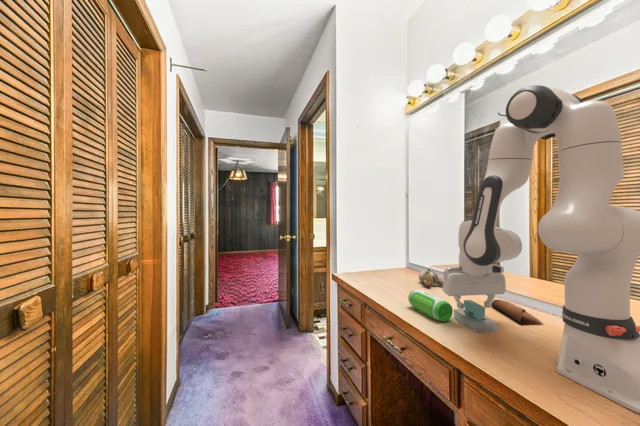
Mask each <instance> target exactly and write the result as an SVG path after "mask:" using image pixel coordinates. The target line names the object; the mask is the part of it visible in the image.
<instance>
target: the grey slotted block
mask: <svg viewBox="0 0 640 426" xmlns="http://www.w3.org/2000/svg"><path fill="white" fill-rule="evenodd" d="M453 318H454V319H455V320H457V321H458V322H460V323H461V324H462V325H464V326H465V327H467V328H468V329H470V330H471V331H473V332H474V333H475V334H477V333H478V334H480V333H498V322H497V321H495V320H493V319H492V318H490V317H488V316H487V315H486V314H485V315H484V320H478V321H477V320H476V319H474V314H466V313H465V308H464V309H459V308H454V309H453Z"/></svg>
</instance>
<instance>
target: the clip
mask: <svg viewBox="0 0 640 426" xmlns="http://www.w3.org/2000/svg"><path fill="white" fill-rule="evenodd" d="M463 304H464V309H465V313H466V314H474V319H476V320H477V321H478V320H484V315H485V316H486V307H484V305H481V304H479V303H477V302H475V301H474V300H472V299H463Z"/></svg>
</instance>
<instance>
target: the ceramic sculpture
mask: <svg viewBox="0 0 640 426" xmlns="http://www.w3.org/2000/svg"><path fill="white" fill-rule="evenodd" d="M418 280H419V282H420V283H422V284H424V286H425V287H428V288H429V287H435V286H440V287H441V286H442V287H443V281H444V279H441V278H439V276H438V274H437V273H436V272H434V271H433V270H432V269H430V268H429V269H424V268H422V269H421V271H420V273H419V274H418Z"/></svg>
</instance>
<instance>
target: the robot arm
mask: <svg viewBox="0 0 640 426" xmlns="http://www.w3.org/2000/svg"><path fill="white" fill-rule="evenodd" d="M505 116H506V119H507V121H508V122H505V123H504V124H501V125H499V126H498V127H497V128H496V130H495V131H494V133H493V137H492V140H491V144H490V149H489V152H488V160H487V161H488V162H487V166H486V168H487V169H486V171H485V176H484V177H483V180H482V182H481V184H480V186H479V189H478V193H477V196H476V202H475V205H474V211H473V214H472V218H470V219H465V220H463V221H461V222H460V224H459V228H458V240H457V241H458V247H459V254H458V266H457V267H447V268H446V269H444V271H443V273H442V276H443V286H442V292H443V293H444V294H445V295H447V296H448V297H453V299H454V301H455V302H456V307H457V308H456V309H465V307H464V302H462V301H461V299H462V297H463V296H467V297H468V296H487V297H486V300H484V301H483V307H485V309H487V308H489V309H490V308H492V306H491V304H492V302H493V301H494V300H495V296H496V295H504V294H505V293H506V290H507V289H506V288H507V283H506V277H505V274H503V273H504V271H505V268H504V267H503V266H501V265H498V264H496V263H500V262H504V261H510V260H512V259H515V258H517V257H518V256H519V255H520V254H521V252H522V250H523V244H522V241H521V240H522V239H521V238H520V237H519V235H518V234H517V233H515V232H514V231H512V230H508V229H504V228H501V227H498V226H497V224H498V220H499V219H498V218H499V214H500V209H501V205H502V204H503V201H504V200H505V198H507V197H508V196H509V195H510V194H511V193H513V192H515V191H517V190H518V189H520V188H522V187H523V186H524V185H525V184H526V183H527V182H528V180H529V177H530V176H531V175H530V174H531V172H532V165H533V158H534V150H535V145H536V143H537V142H538V140H540V139H542V140H545V141H546V140H548V139H551V138H555V137H556V141H557V155H558V171H559V172H558V173H559V174H558V175H559V178H558V180H559V182H558V189H557V192H556V196H555V198H554V202H553V204H552V206H551V208H550V209H549V210H548V211H547V213H545V214H544V215H543V216H542V217H541V219H540V220H539V222H538V228H537V231H538V235H539V238H540V240H541V242H542V243H543V244H544V246H546V247H547V248H548V249H551V250H553V251H556V252H561V253H567V254H573V255H577V257H576V261H575V262H574V264H573V265H572V266H571V268H570V269H569V270H568V271H567V272H566V273H565V275H564V280H563V281H564V285H563V286H564V304H563V306H562V311H561V315H562V321H563V323H564V327H563V332H562V337H561V345H560V351H559V354H558V357H557V359H556V362H557V365H556V369H555V370H556V372H557V373H558V374H560V375H562V376H564V377H566V378H568V379H570V380H571V381H574V382H576V383H577V384H579V385H581V386H583V387H585V388H588V390H592V391H594V392H595V393H596V394H597V393H598V394H600V395H601V396H604V397H605V398H607V399H608V400H611V401H612V402H614V403H617V404H618V405H621V406H623V407H625V408H627V409H629V410H630V411H632V412H634V413H637V414H640V325H639V326H638V325H636V323H635V321H634V319H633V317H632V316H631V284H632V278H633V274H634V271H635V268H636V265H637V262H638V259H639V257H640V210H638V209H634V208H631V207H630V208H629V207H626V206H622V205H620V206H619V205H610V203H611V199H612V195H613V193H614V191H615V189H616V187H617V185H619V184H620V183H621V182H622V181H623V179H624V177H625V168H624V158H623V157H624V156H623V154H624V153H623V144H622V134H621V129H620V126H619V121H618V118H617V114H616V113H615V110H614V107H613V106H612V105H611V104H610V103H609V102H607V101H603V100H594V99H593V100H587V101H586V100H585V101H583V99H581V98H580V97H579V96H577V95H575V94H571V93H568V92H567V91H564V90H562V89H559V88H556V87H548V86H545V85H542V84H541V85H538V84H537V85H536V84H535V85H528V86H525V87H522V88H520V89H518V90H517V91H516V92H515V93H513V94H512V95H511V97H509V100H508V101H507V104H506V106H505Z"/></svg>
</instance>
